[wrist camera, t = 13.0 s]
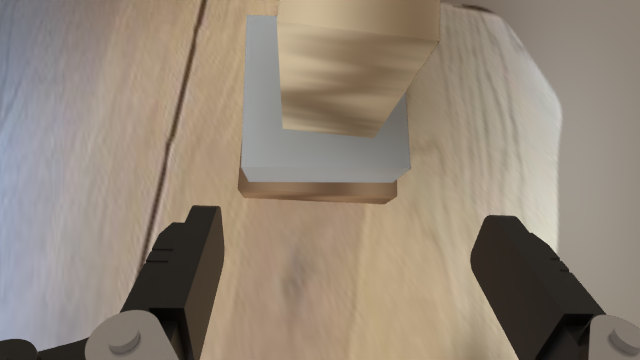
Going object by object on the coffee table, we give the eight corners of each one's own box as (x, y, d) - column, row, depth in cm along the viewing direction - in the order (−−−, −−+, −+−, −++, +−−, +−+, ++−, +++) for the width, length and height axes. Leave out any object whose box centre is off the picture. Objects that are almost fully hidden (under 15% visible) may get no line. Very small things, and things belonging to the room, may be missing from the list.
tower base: (244, 198, 29) (237, 188, 25) (255, 71, 31) (249, 44, 27) (382, 205, 29) (397, 196, 26) (382, 80, 32) (394, 55, 28)
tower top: (248, 181, 25) (241, 166, 21) (253, 50, 27) (246, 14, 23) (392, 182, 26) (410, 168, 22) (385, 54, 28) (400, 21, 24)
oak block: (282, 128, 22) (276, 20, 12) (292, 39, 23) (294, -123, 13) (373, 138, 22) (439, 41, 12) (378, 49, 23) (440, -102, 14)
